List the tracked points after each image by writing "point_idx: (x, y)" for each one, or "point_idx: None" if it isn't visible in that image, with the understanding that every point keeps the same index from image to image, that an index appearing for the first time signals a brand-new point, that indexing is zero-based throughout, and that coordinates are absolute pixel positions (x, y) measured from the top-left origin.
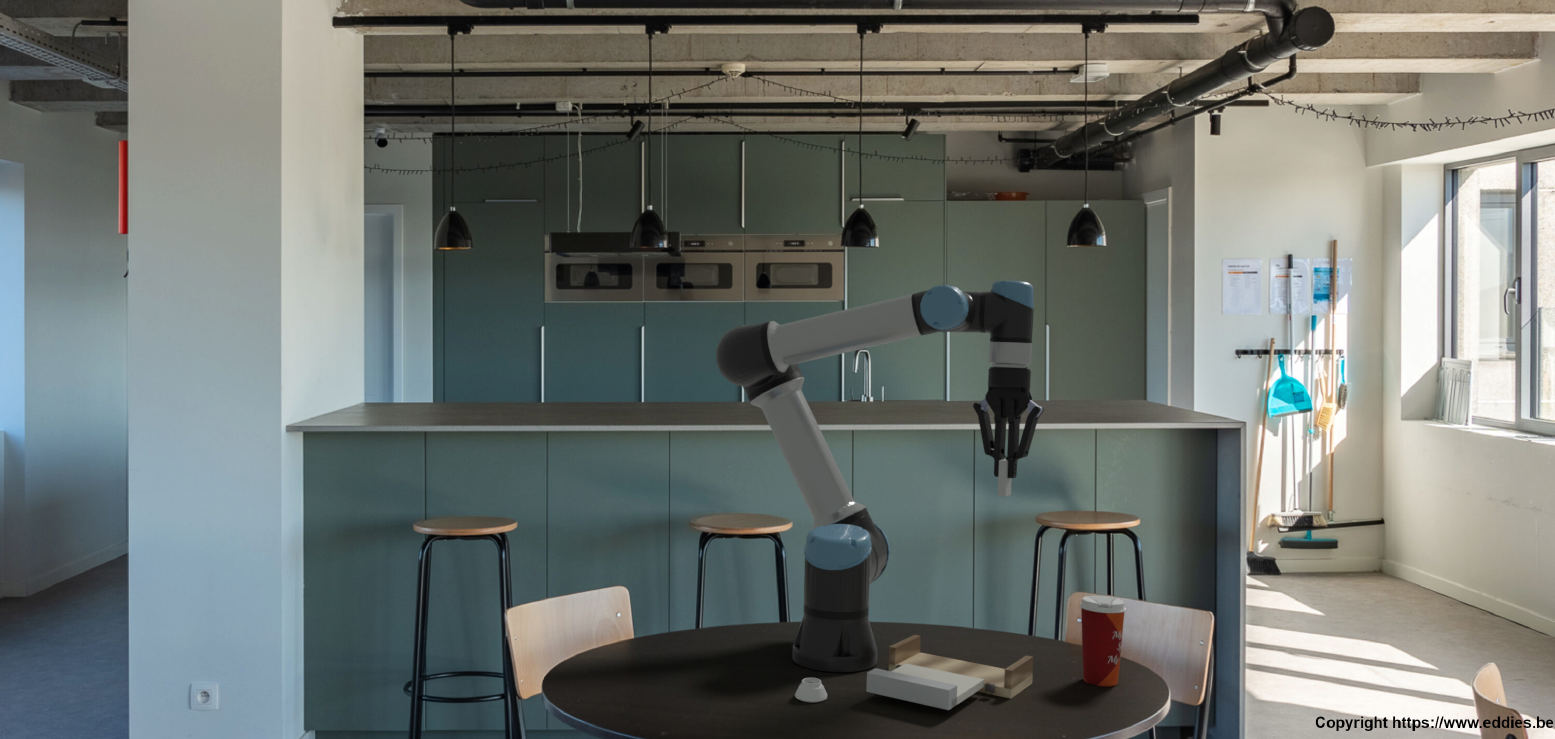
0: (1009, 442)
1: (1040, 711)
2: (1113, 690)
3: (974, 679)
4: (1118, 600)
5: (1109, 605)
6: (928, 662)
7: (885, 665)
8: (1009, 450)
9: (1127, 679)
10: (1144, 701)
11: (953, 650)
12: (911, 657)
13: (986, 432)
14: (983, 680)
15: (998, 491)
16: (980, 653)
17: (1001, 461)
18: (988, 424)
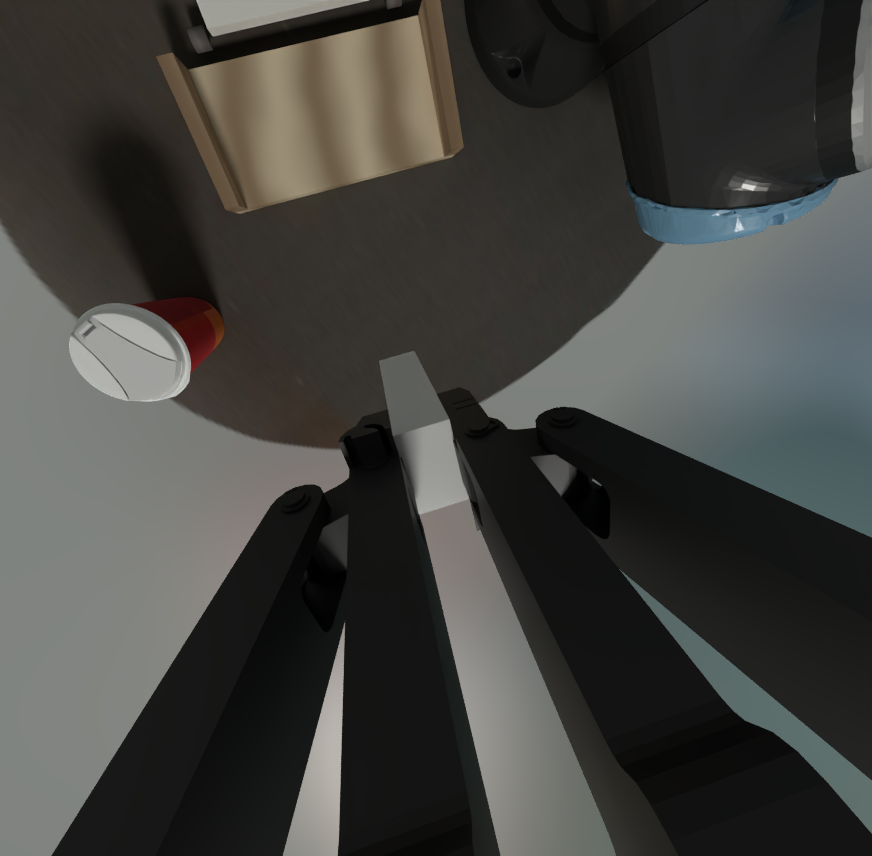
0: (397, 541)
1: (88, 50)
2: (147, 299)
3: (216, 5)
4: (106, 385)
5: (76, 331)
6: (392, 104)
7: (462, 69)
8: (387, 491)
9: None
10: (73, 288)
11: (444, 271)
12: (433, 107)
13: (708, 517)
14: (205, 22)
15: (413, 357)
16: (407, 294)
17: (429, 420)
18: (803, 662)
